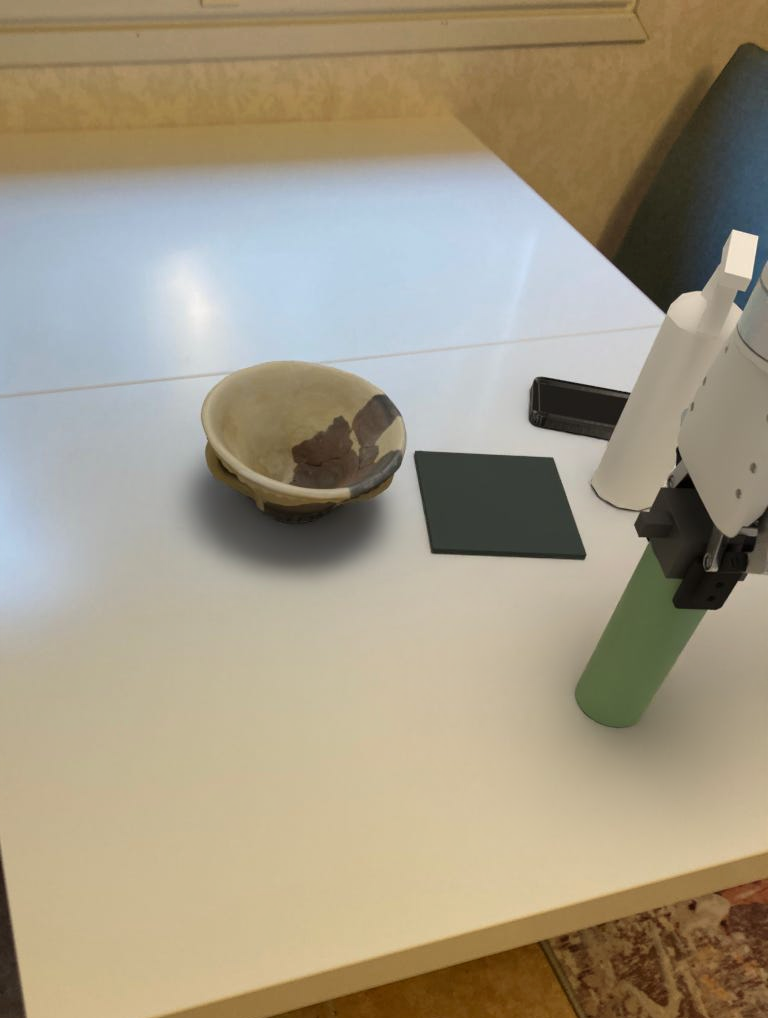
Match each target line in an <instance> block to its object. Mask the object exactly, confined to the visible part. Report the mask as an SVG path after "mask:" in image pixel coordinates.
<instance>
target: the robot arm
mask: <svg viewBox="0 0 768 1018" xmlns="http://www.w3.org/2000/svg"><path fill="white" fill-rule="evenodd" d="M742 311H743V312H742V314H741V316H740V319H739V320H738V322H737V324H736V326H735V328H734V330H733V331H732V333H731V334H730V336H729V337H728V339H727V341H726V342H725V344H724V345H723V347H722V348H721V350H720V352H719V353H718V355H717V357H716V358H715V360H714V362H713V364H712V365H711V367H710V369H709V371H708V372H707V374H706V376H705V378H704V380H703V381H702V383H701V385H700V387H699V389H698V391H697V393H696V395H695V397H694V399H693V401H692V403H691V405H690V407H689V408H687V409H685V410H684V411H683V412H682V415H681V426H680V431H679V434H678V447H677V448H676V464H675V466H674V468H673V470H672V471H671V473H670V475H669V476H668V478H667V481H666V487H667V488H688V489H697V491H698V493H699V495H700V497H701V499H702V501H703V503H704V505H705V507H706V509H707V511H708V513H709V515H710V517H711V519H712V521H713V522H714V527H713V530H712V533H711V536H710V539H709V542H708V545H707V548H706V552H705V555H704V558H698V559H695V560H694V561H693V563H692V565H691V566H690V568H689V570H688V572H687V574H686V575H685V577H684V579H683V581H682V582H681V584H680V586H679V588H678V590H677V591H676V593H675V595H674V597H673V599H672V602H673V604H674V607H675V608H677V609H697V610H707V611H717V610H720V609H721V608H722V607H723V606H724V605H725V603H726V602H727V600H728V598H729V597H730V595H731V593H732V592H733V591H734V589H735V587H736V586H737V584H738V583H739V582H740V581H739V579H740V578H741V576H742V574H743V573H748V574H751V575H758V576H759V575H760V576H768V259H767V260H766V263H765V264H764V266H763V268H762V272H761V273H760V275H759V277H758V279H757V282H756V283H755V286H754V288H753V290H752V292H751V294H750V296H749V297H748V300H747V302H746V304H745V306H744V308H743V310H742ZM735 536H746V537H745V540H744V543H743V546H742V549H741V552H725V551H726V548H727V545H728V542H729V539H730V538H733V537H735ZM646 541H647V543H649V541H650V539H649V538H646Z"/></svg>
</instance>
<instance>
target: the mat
mask: <svg viewBox="0 0 768 1018" xmlns="http://www.w3.org/2000/svg"><path fill="white" fill-rule="evenodd" d="M413 457H414V463H415V468H416V472H417V473H416V475H417V478H418V484H419V489H420V494H421V499H422V500H421V501H422V505H423V510H424V511H423V512H424V516H425V522H426V527H427V532H428V538H429V543H430V548H431V553H432V554H450V555H452V554H453V555H472V556H473V555H474V556H475V555H476V556H495V557H496V556H497V557H499V556H501V557H520V558H521V557H522V558H547V559H573V560H576V559H577V560H585V559H586V557H587V552H586V549H585V545H584V543H583V540H582V536H581V534H580V531H579V528H578V525H577V523H576V520H575V516H574V514H573V510H572V508H571V505H570V502H569V498H568V496H567V493H566V490H565V488H564V484H563V482H562V479H561V476H560V473H559V471H558V467H557V463H556V461H555V458H554V457H552V456H551V457H550V456H532V455H513V454H512V455H511V454H494V453H493V454H492V453H491V454H490V453H473V452H472V453H471V452H455V451H454V452H452V451H432V450H414V454H413Z"/></svg>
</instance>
